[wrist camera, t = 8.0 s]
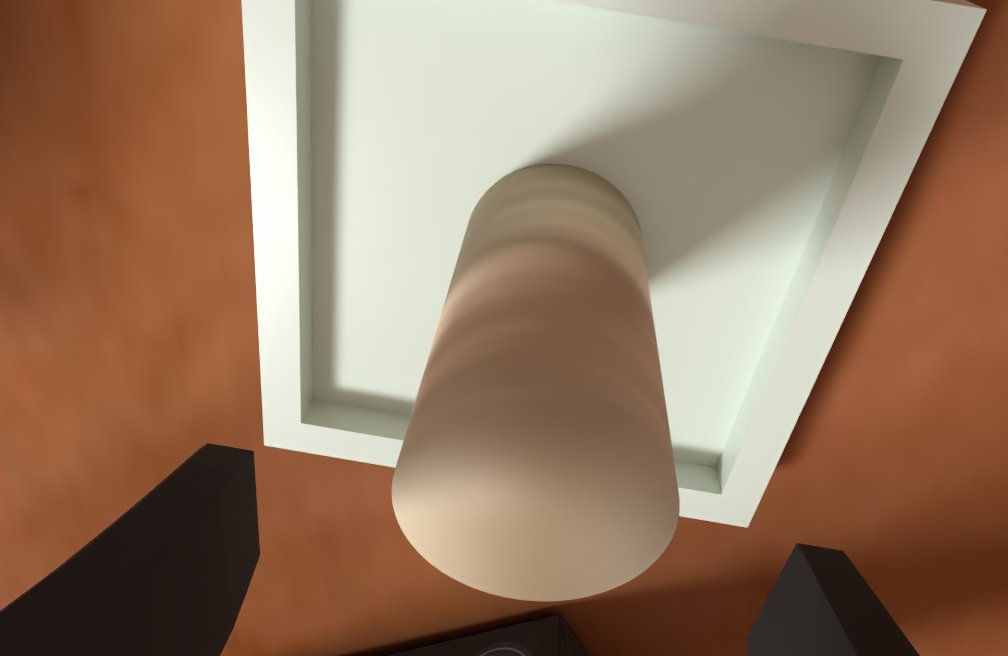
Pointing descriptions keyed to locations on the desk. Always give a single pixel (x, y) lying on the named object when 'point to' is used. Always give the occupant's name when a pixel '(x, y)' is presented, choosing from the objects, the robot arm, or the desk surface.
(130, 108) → the desk surface
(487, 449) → the peg
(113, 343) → the desk surface
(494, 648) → the graphics card box
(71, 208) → the desk surface
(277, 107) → the tray
